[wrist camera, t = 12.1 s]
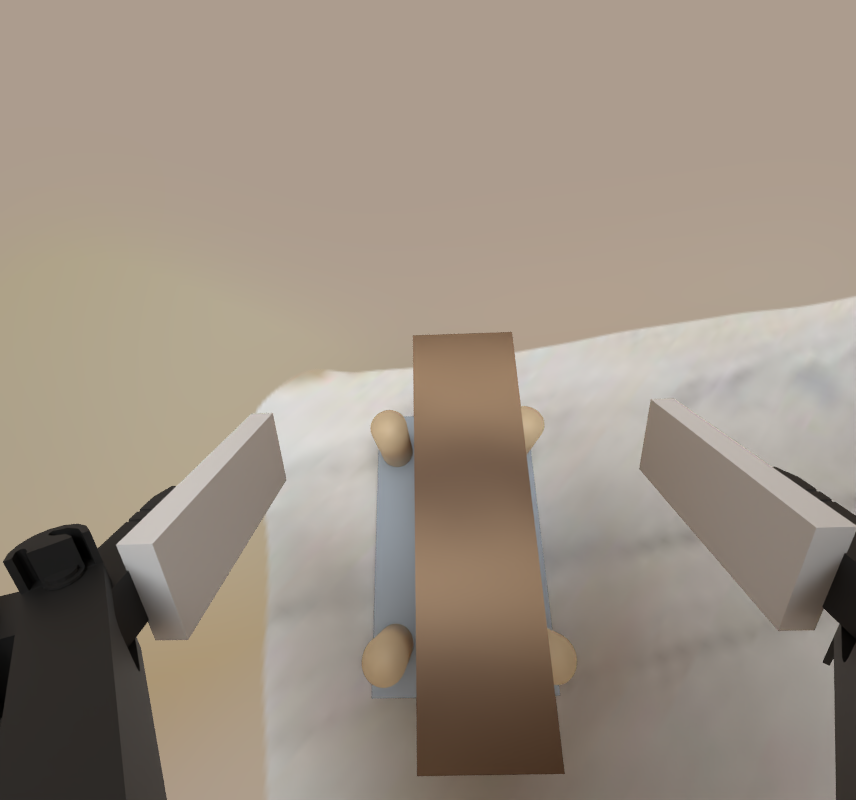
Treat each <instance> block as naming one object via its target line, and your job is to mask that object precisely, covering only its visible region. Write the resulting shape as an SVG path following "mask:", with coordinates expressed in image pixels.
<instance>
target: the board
mask: <svg viewBox="0 0 856 800" xmlns="http://www.w3.org/2000/svg"><path fill="white" fill-rule="evenodd" d="M413 380H414V488H415V597H416V706H417V776H453V775H517V774H565V773H564V764H563V756H562V748H561V739H560V731H559V722H558V714H557V706H556V697H555V689H554V681H553V672H552V664H551V655H550V647H549V639H548V630H547V622H546V614H545V605H544V597H543V588H542V580H541V572H540V563H539V555H538V547H537V538H536V530H535V521H534V513H533V505H532V496H531V488H530V480H529V471H528V463H527V454H526V446H525V438H524V429H523V421H522V413H521V404H520V396H519V387H518V379H517V371H516V362H515V354H514V345H513V337H512V332H503V333H502V332H501V333H472V334H446V335H445V334H443V335H416V336H413Z"/></svg>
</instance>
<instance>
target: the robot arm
mask: <svg viewBox="0 0 856 800" xmlns="http://www.w3.org/2000/svg"><path fill="white" fill-rule="evenodd" d="M639 469H640V470H641V471H642V473H643V474H644V475H645V476H646V477H647V478H648V480H649V481H650V482H651V483H652V484H653V485H654V487H655V488H656V489H657V490H658V491H659V492H660V494H661V495H662V496H663V497H664V498H665V499H666V501H667V502H668V503H669V504H670V505H671V506H672V508H673V509H674V510H675V511H676V512H677V513H678V515H679V516H680V517H681V518H682V519H683V520H684V522H685V523H686V524H687V525H688V526H689V527H690V529H691V530H692V531H693V532H694V533H695V534H696V536H697V537H698V538H699V539H700V540H701V541H702V543H703V544H704V545H705V546H706V547H707V548H708V550H709V551H710V552H711V553H712V554H713V555H714V556H715V558H716V559H717V560H718V561H719V562H720V563H721V565H722V566H723V567H724V568H725V569H726V570H727V572H728V573H729V574H730V575H731V576H732V577H733V579H734V580H735V581H736V582H737V583H738V584H739V586H740V587H741V588H742V589H743V590H744V591H745V593H746V594H747V595H748V596H749V597H750V598H751V600H752V601H753V602H754V603H755V604H756V605H757V607H758V608H759V609H760V610H761V611H762V612H763V614H764V615H765V616H766V617H767V618H768V619H769V621H770V622H771V623H772V624H773V625H774V626H775V628H776V629H777V630H778V631H788V630H815V628H816V625H817V623H818V621H819V618H820V616H821V614H822V611H823V609H825V610H826V611H827V612H828V613H829V614H830V615H831V616H832V617H833V618H834V619H835V620H836V621H837V622H838V623H839V626H838V629H837V631H836V633H835V635H834V638H833V640H832V642H831V644H830V647H829V649H828V651H827V653H826V655H825V658H824V660H823V663H825V664H827V665H829V666H830V664H831V662H832V660H833V659H834V687H835V754H836V800H856V516H855V515H854V514H852V513H851V512H849V511H848V510H847V509H845V508H844V507H842V506H841V505H839V504H838V503H836V502H832V501H831V499H830V498H829V497H827V496H826V495H824V494H823V493H821V492H817V491H816V489H815V488H814V487H812V486H811V485H809V484H808V483H806V482H805V481H804V480H802V479H801V478H799V477H797V476H795V475H793V474H790V473H788V472H786V471H783V470H781V469H779V468H777V467H772V466H770V465H769V464H767V463H766V462H764V461H763V460H762V459H760V458H759V457H757V456H756V455H754V454H753V453H751V452H750V451H749V450H747V449H746V448H744V447H743V446H741V445H740V444H739V443H737V442H736V441H734V440H733V439H731V438H730V437H729V436H727V435H726V434H724V433H723V432H721V431H720V430H718V429H717V428H716V427H714V426H713V425H711V424H710V423H708V422H707V421H706V420H704V419H703V418H701V417H700V416H698V415H697V414H696V413H694V412H693V411H691V410H690V409H688V408H687V407H685V406H684V405H683V404H681V403H680V402H678V401H677V400H675V399H674V398H670V399H651V402H650V408H649V414H648V420H647V426H646V432H645V438H644V444H643V450H642V456H641V462H640V468H639ZM285 481H286V475H285V471H284V466H283V461H282V456H281V451H280V446H279V441H278V437H277V432H276V427H275V422H274V417H273V413H258V414H251V415H249V416H248V417H247V419H245V420H244V421H243V422H242V423H241V424H240V425H239V426H238V427H237V428H236V429H235V430H234V431H233V432H232V433H231V434H230V435H229V436H228V437H227V438H226V439H225V440H224V441H223V442H222V443H221V444H220V445H219V446H218V447H216V449H214V450H213V451H212V452H211V453H210V454H209V455H208V456H207V457H206V458H205V459H204V460H203V461H202V462H201V463H200V464H199V465H198V466H197V467H196V468H195V469H194V470H193V471H192V472H191V473H190V474H189V475H188V476H187V477H186V478H185V479H183V480H182V481H181V482H180V483H179V484H178V485H177V486H171V487H169V488H168V489H166V490H164V491H163V492H161V493H159V494H158V495H156V496H154V497H153V498H152V499H151V500H150V501H148V502H147V503H146V504H145V505H144V506H143V507H142V508H141V509H140V512H137V513H135V514H134V515H133V516H132V517H131V518H130V519H129V522H126V523H125V524H124V525H123V526H122V527H120V528H119V529H118V530H117V531H116V532H115V533H114V534H113V535H112V536H111V537H110V538H109V539H108V540H107V541H105V542H104V543H103V544H102V545H101V546H100V547H99V548H98V549H97V547H96V545H95V542H94V540H93V537H92V535H91V533H90V531H89V529H88V528H87V526H85V525H81V524H71V525H63V526H60V527H56V528H53V529H49V530H47V531H44V532H42V533H39V534H37V535H35V536H33V537H31V538H29V539H27V540H26V541H24V542H23V543H21V544H19V545H18V546H16V547H15V548H14V549H13V550H12V551H10V553H8V555H7V556H6V558H5V560H4V561H3V563H4V565H5V567H6V568H7V570H8V572H9V574H10V576H11V577H12V579H13V581H14V583H15V585H16V586H17V588H18V590H19V592H16V593H12V594H8V595H4V596H0V800H167V798H166V792H165V787H164V780H163V774H162V769H161V763H160V757H159V751H158V745H157V740H156V734H155V728H154V723H153V716H152V710H151V704H150V698H149V693H148V687H147V681H146V675H145V669H144V663H143V658H142V652H141V647H140V645H139V643H138V640H137V638H136V637H137V635H138V634H139V632H140V631H141V630H142V629H143V627H144V626H145V625H146V623H147V622H148V623H149V625H150V628H151V630H152V633H153V635H154V638H155V640H188V639H189V637H190V636H191V634H192V633H193V631H194V629H195V628H196V626H197V624H198V623H199V621H200V620H201V618H202V616H203V614H204V613H205V611H206V610H207V608H208V606H209V605H210V603H211V602H212V600H213V598H214V597H215V595H216V593H217V592H218V590H219V589H220V587H221V585H222V584H223V582H224V580H225V579H226V577H227V576H228V574H229V572H230V571H231V569H232V567H233V566H234V564H235V562H236V561H237V559H238V558H239V556H240V554H241V553H242V551H243V549H244V548H245V546H246V545H247V543H248V541H249V540H250V538H251V536H252V535H253V533H254V531H255V530H256V528H257V527H258V525H259V523H260V522H261V520H262V518H263V517H264V515H265V514H266V512H267V510H268V509H269V507H270V505H271V504H272V502H273V501H274V499H275V497H276V496H277V494H278V492H279V491H280V489H281V488H282V486H283V484H284V483H285Z"/></svg>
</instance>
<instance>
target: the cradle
mask: <svg viewBox="0 0 856 800" xmlns="http://www.w3.org/2000/svg"><path fill="white" fill-rule="evenodd" d="M521 413H522V421H523V429H524V438H525V446H526V454H527V463H528V471H529V480H530V488H531V496H532V505H533V513H534V521H535V530H536V538H537V547H538V555H539V563H540V572H541V580H542V588H543V597H544V605H545V614H546V622H547V630H548V639H549V647H550V655H551V664H552V672H553V681H554V689H555V696H560V688H559V685H561V684H564V683H566V682H568V681H569V680H570V679H571V678H572V677H573V675H574V673H575V671H576V667H577V657H576V653H575V650H574V648H573V646H572V644H571V643H570V642H569V640H568V639H566V638H565V637H564V636H562V635H560V634H558V633H556V632H554V631H552V622H551V614H550V606H549V598H548V589H547V581H546V573H545V565H544V556H543V548H542V540H541V532H540V523H539V515H538V507H537V498H536V490H535V482H534V474H533V465H532V457H531V448H532V447H533V445H534V444H535V442H536V441H537V440H538V438H539V437H540V435H541V434H542V432H543V430H544V420H543V417H542V416H541V414H540V413H539V412H538V411H537V410H535V409H533V408H531V407H527V406H522V407H521ZM371 433H372V436H373V438H374V440H375V442H376V444H377V446H378V448H379V458H378V493H377V528H376V563H375V598H374V633H373V640H372V641H371V642H370V643H369V644H368V645H367V646H366V648H365V650H364V653H363V657H362V669H363V672H364V675H365V677H366V678H367V680H368V681H369V682H370V683H371V684H372V698H416V597H415V488H414V416H410V417H403V416H402V415H401V414H400V413H399V412H396V411H393V410H386V411H383V412H380V413H379V414H377V415H376V416H375V417H374V419H373V421H372V423H371Z"/></svg>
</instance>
